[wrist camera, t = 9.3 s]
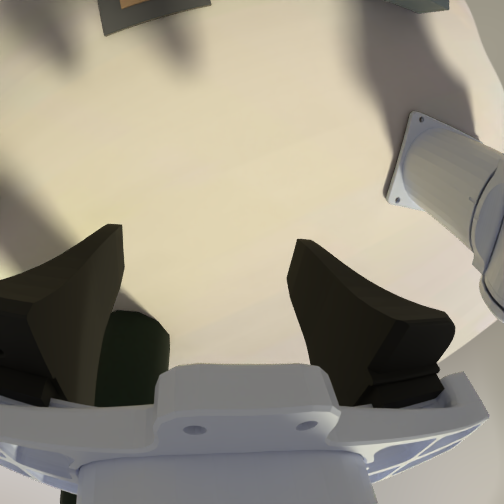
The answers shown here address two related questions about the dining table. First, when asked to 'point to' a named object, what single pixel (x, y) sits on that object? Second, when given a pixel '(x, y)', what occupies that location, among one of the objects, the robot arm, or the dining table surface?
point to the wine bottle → (129, 364)
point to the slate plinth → (422, 5)
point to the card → (140, 11)
